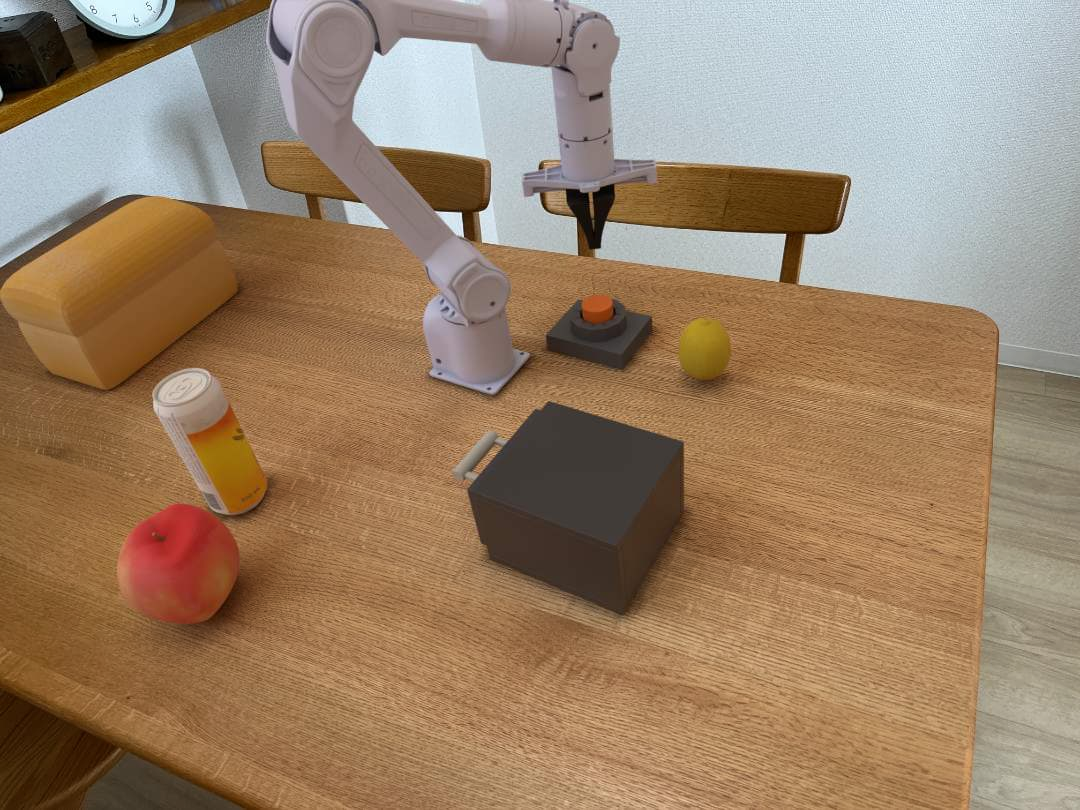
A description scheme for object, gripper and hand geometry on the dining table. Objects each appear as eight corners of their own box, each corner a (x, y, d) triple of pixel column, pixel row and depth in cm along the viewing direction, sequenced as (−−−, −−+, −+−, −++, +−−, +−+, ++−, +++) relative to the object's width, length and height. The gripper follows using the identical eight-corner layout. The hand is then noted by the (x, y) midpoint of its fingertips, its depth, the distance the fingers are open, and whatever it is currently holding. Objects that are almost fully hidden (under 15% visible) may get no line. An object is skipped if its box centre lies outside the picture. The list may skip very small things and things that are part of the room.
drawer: (444, 528, 76) (428, 474, 71) (509, 450, 83) (498, 396, 78) (601, 593, 68) (595, 538, 63) (658, 502, 75) (656, 445, 70)
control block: (547, 349, 96) (543, 322, 94) (579, 313, 101) (577, 286, 99) (622, 369, 92) (620, 341, 89) (652, 331, 97) (651, 303, 94)
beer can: (281, 480, 85) (228, 369, 75) (247, 524, 80) (187, 411, 71) (234, 471, 87) (176, 361, 77) (199, 513, 82) (133, 403, 73)
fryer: (489, 559, 74) (472, 491, 68) (558, 468, 81) (548, 400, 75) (623, 615, 67) (617, 546, 61) (684, 512, 75) (684, 441, 69)
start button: (577, 320, 94) (575, 308, 93) (591, 304, 96) (590, 291, 95) (604, 327, 92) (603, 314, 91) (618, 310, 95) (617, 297, 93)
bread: (110, 393, 100) (48, 292, 91) (45, 372, 106) (-21, 274, 96) (244, 289, 116) (204, 192, 106) (181, 275, 121) (137, 182, 111)
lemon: (728, 396, 86) (731, 336, 81) (676, 394, 88) (675, 334, 82) (730, 364, 90) (733, 304, 85) (680, 362, 92) (679, 304, 86)
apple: (219, 544, 79) (177, 473, 72) (277, 590, 74) (237, 518, 67) (130, 613, 74) (77, 543, 67) (185, 668, 69) (133, 598, 62)
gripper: (515, 153, 82) (531, 268, 91) (658, 138, 81) (661, 256, 90) (517, 126, 87) (533, 237, 96) (652, 111, 86) (655, 225, 95)
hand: (594, 244), depth 93 cm, fingers closed
